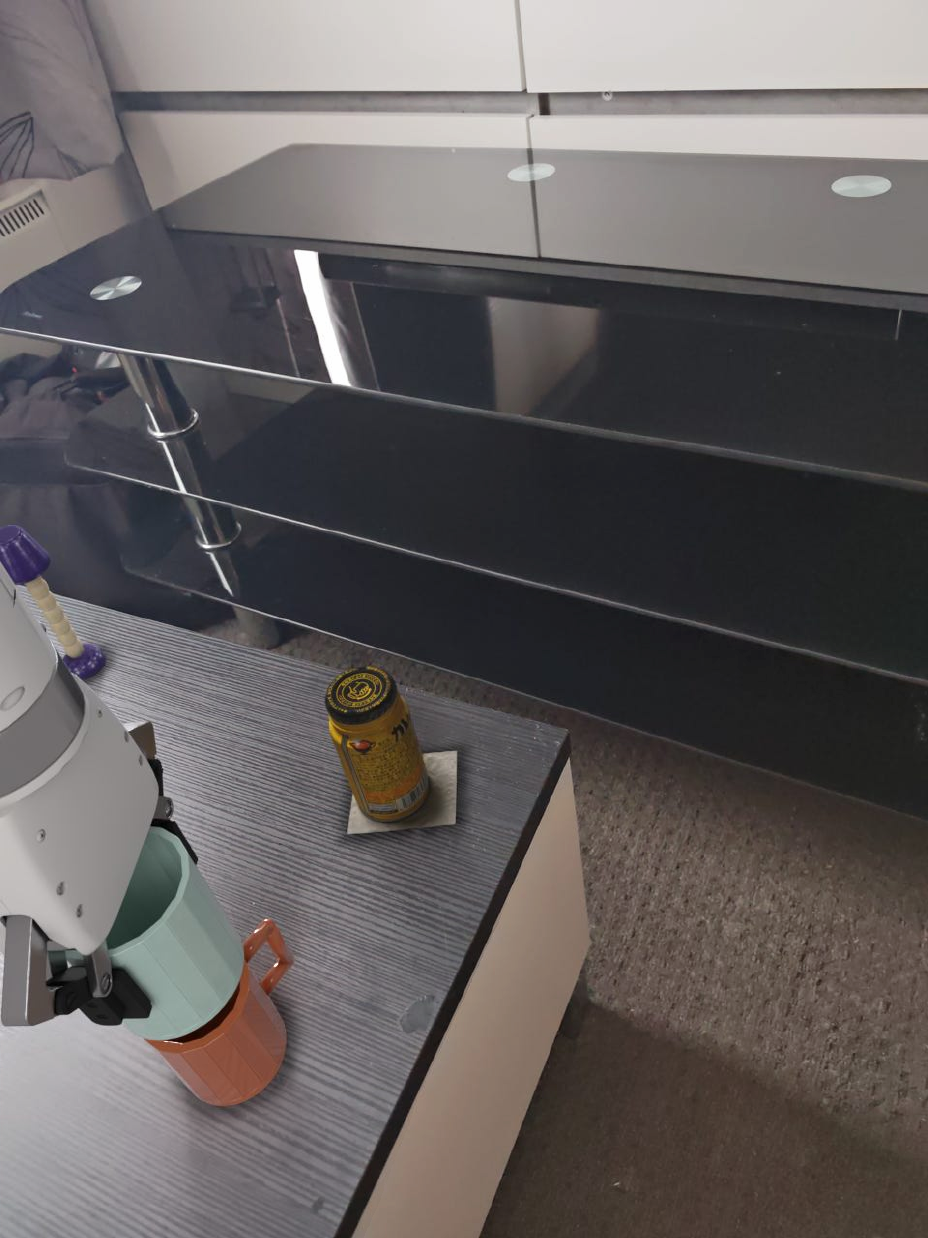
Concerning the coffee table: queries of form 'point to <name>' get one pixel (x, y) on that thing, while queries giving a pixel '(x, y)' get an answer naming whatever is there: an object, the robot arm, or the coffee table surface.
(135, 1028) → the cup
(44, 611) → the toy lamp
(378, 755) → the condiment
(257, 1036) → the mug
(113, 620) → the coffee table surface
